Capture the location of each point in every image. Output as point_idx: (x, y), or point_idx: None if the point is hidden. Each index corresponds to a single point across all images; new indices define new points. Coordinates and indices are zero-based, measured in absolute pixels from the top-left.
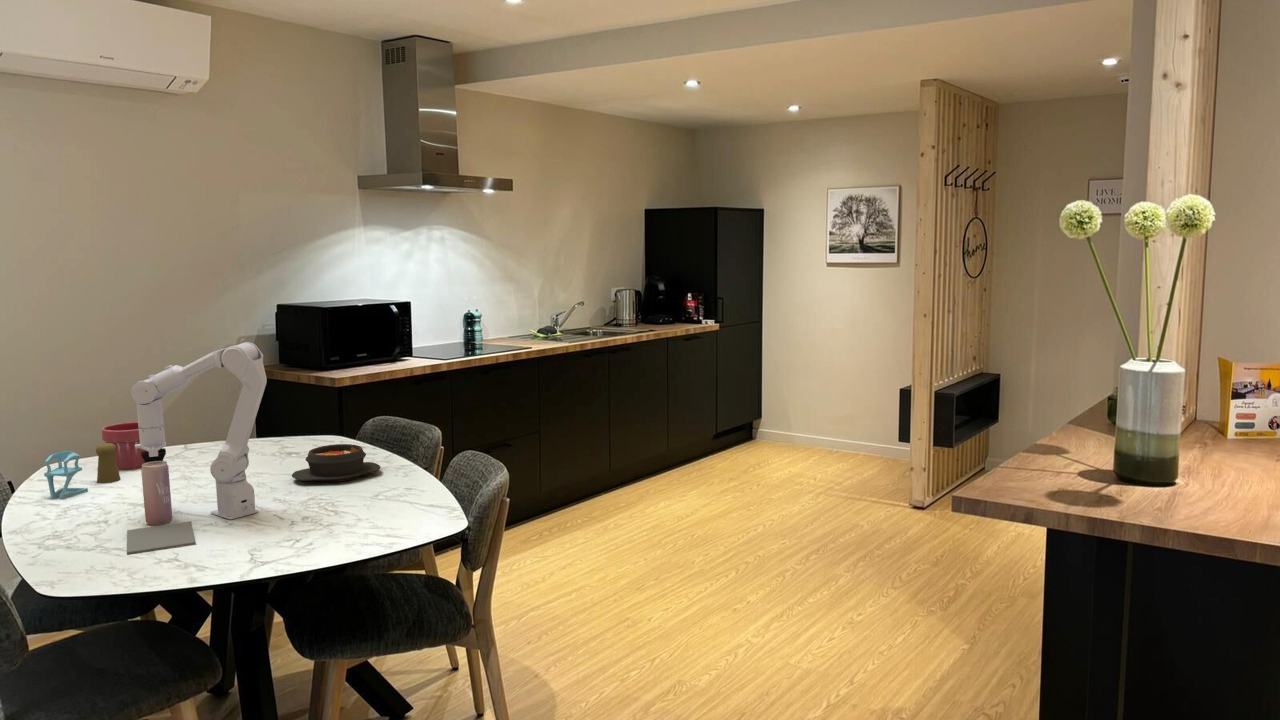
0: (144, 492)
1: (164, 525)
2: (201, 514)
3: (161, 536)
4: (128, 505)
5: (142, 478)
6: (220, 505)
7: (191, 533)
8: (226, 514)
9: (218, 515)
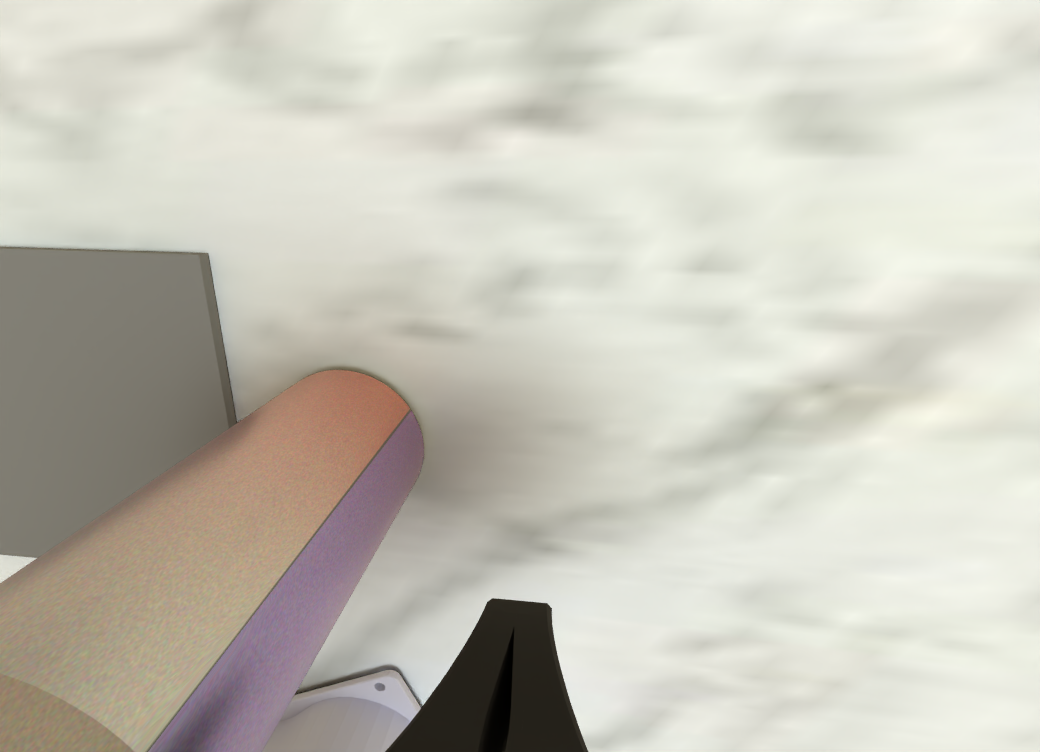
0: (160, 478)
1: None
2: (411, 630)
3: (16, 422)
4: (948, 280)
5: (36, 569)
6: (293, 749)
7: (33, 548)
8: (290, 719)
9: (324, 688)
